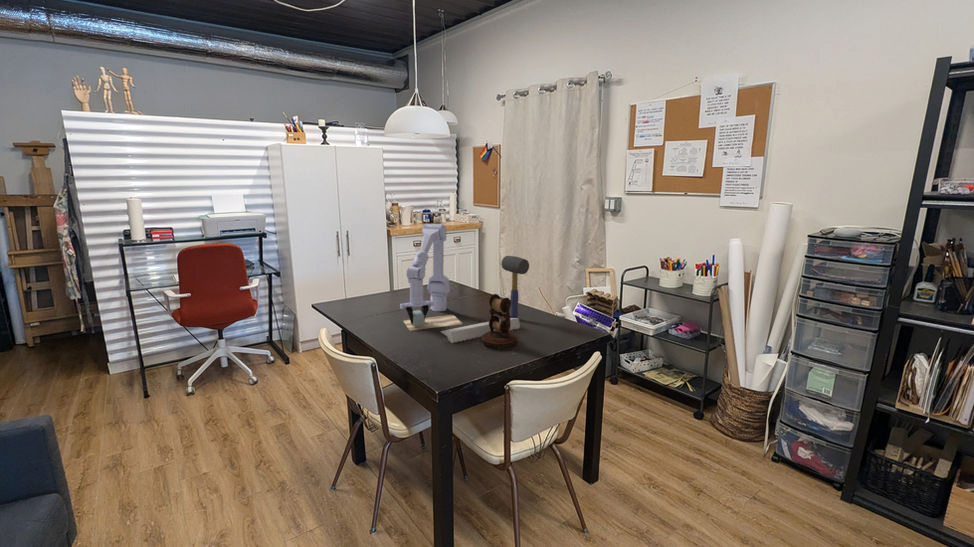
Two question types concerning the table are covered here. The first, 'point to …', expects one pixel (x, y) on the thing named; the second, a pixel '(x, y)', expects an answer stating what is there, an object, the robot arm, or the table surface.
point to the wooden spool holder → (499, 324)
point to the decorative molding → (474, 331)
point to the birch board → (435, 322)
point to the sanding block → (418, 319)
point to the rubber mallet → (514, 278)
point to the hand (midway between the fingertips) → (417, 322)
